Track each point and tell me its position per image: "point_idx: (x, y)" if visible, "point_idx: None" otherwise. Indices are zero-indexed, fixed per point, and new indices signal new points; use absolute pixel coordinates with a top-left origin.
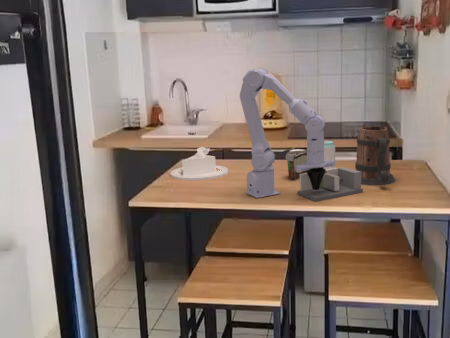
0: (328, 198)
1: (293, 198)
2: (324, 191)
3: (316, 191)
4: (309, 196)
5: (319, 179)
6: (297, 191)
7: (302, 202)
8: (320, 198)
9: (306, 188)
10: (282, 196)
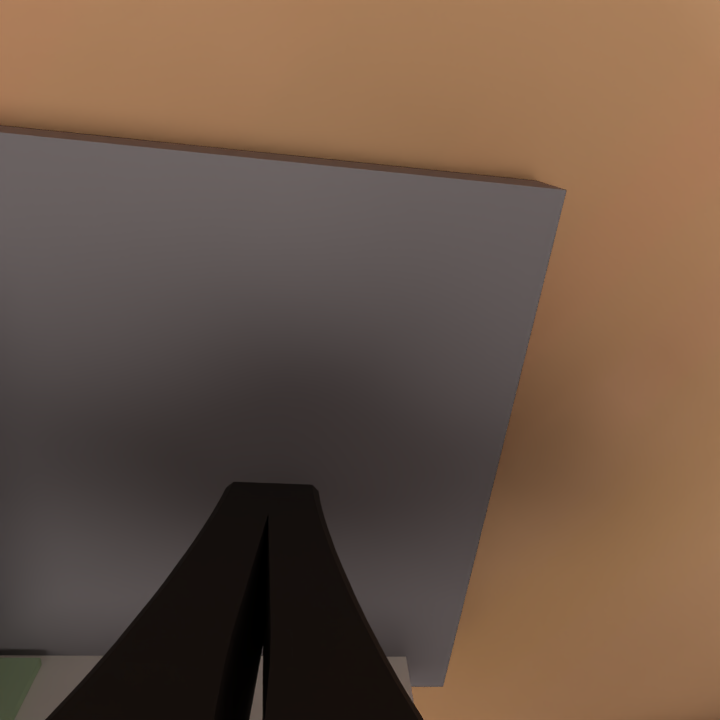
0: (209, 148)
1: (619, 533)
2: (81, 452)
3: None
4: (507, 394)
5: (200, 694)
6: (443, 675)
7: (714, 300)
8: (428, 172)
9: None
10: (635, 658)
